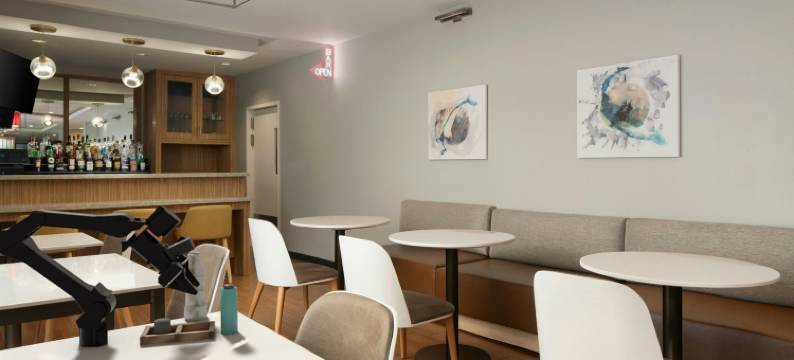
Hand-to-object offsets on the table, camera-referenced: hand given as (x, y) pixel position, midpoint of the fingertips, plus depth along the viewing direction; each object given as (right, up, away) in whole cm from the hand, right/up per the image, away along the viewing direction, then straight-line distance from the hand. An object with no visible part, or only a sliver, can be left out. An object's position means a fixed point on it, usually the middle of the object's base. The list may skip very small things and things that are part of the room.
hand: (198, 289), depth 149 cm
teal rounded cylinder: (+8, -13, +3) cm, 15 cm away
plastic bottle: (-6, -13, +16) cm, 21 cm away
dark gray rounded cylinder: (-9, -12, -2) cm, 15 cm away
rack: (-5, -13, -1) cm, 14 cm away
